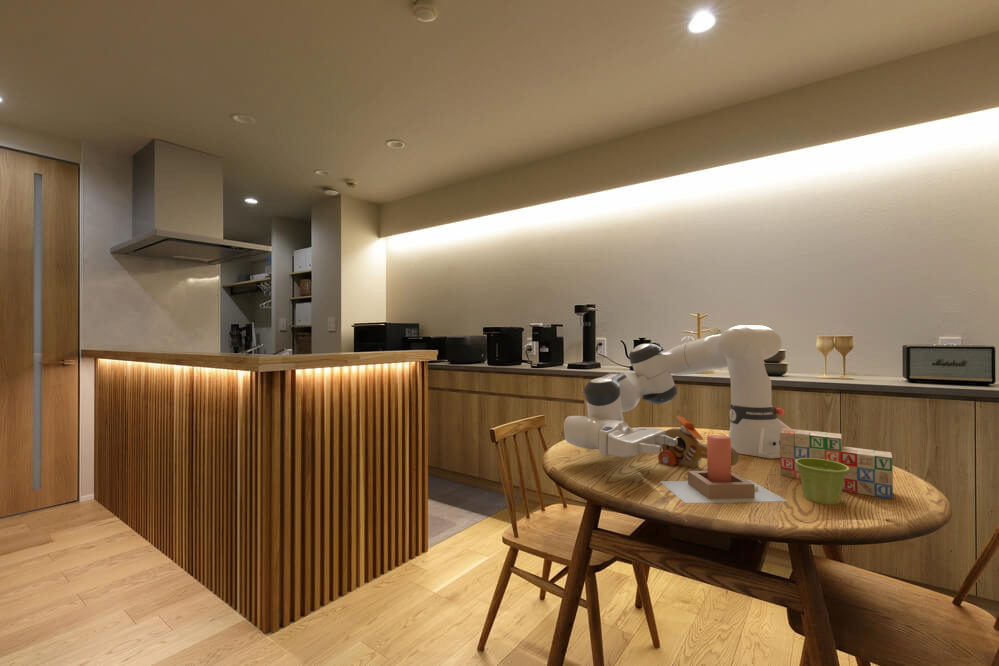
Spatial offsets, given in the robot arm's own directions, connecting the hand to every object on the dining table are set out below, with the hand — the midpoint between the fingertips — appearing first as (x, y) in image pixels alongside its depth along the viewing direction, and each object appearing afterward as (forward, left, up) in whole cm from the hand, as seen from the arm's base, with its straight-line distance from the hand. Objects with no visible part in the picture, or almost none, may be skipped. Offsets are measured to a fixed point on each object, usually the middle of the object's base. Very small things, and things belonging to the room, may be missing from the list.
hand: (668, 446), depth 110 cm
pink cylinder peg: (-8, +8, -8) cm, 14 cm away
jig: (-8, +8, -9) cm, 15 cm away
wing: (-15, +5, -8) cm, 18 cm away
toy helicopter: (-11, -10, -10) cm, 18 cm away
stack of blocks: (-39, +3, -10) cm, 40 cm away
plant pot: (-27, +14, -10) cm, 32 cm away
